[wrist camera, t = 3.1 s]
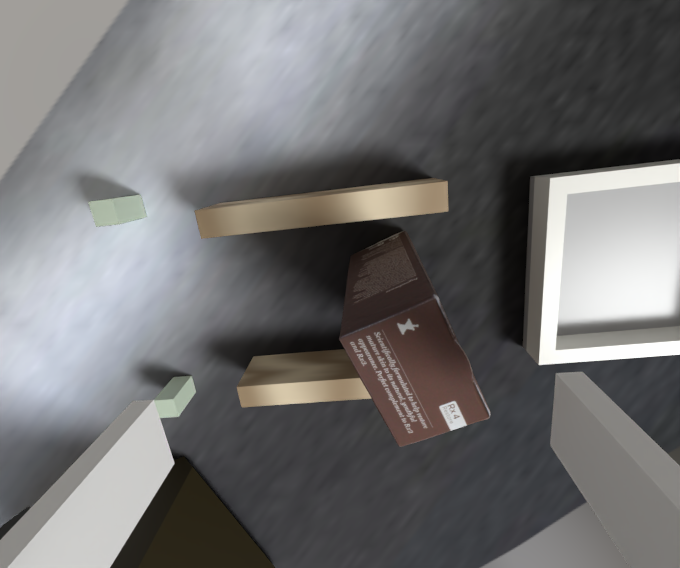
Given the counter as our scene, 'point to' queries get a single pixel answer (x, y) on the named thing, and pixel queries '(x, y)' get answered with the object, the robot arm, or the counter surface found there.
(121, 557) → the bottle
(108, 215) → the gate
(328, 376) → the channel
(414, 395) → the box
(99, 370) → the counter surface
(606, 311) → the tray
